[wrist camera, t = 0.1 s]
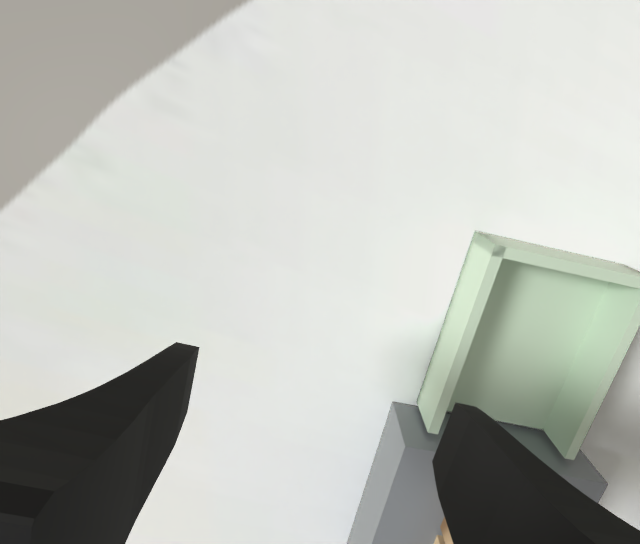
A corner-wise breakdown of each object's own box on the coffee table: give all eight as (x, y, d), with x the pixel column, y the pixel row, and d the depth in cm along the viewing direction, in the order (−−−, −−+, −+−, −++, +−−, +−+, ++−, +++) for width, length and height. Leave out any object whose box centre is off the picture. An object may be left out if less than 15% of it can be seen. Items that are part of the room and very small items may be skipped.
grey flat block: (505, 569, 28) (531, 629, 24) (347, 542, 27) (351, 602, 24) (568, 435, 25) (608, 483, 21) (392, 401, 24) (405, 446, 21)
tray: (549, 427, 25) (574, 459, 22) (416, 401, 24) (427, 432, 22) (622, 264, 22) (660, 281, 19) (475, 230, 21) (495, 244, 19)
